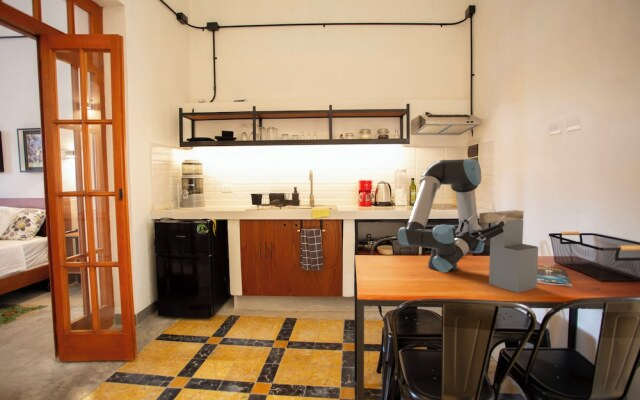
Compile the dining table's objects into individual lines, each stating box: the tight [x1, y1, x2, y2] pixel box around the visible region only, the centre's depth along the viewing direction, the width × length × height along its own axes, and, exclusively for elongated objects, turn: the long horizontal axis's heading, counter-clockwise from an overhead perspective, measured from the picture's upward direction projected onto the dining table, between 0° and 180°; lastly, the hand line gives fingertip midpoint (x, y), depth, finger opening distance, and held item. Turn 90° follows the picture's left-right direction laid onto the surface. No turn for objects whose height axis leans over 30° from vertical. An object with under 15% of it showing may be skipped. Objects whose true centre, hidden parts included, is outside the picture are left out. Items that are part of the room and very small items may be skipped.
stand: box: [488, 219, 539, 294], centre depth 149 cm, size 14×14×30 cm
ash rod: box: [478, 209, 525, 224], centre depth 149 cm, size 4×26×4 cm, turn 118°
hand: (490, 216), depth 145 cm, fingers open, 13 cm apart
